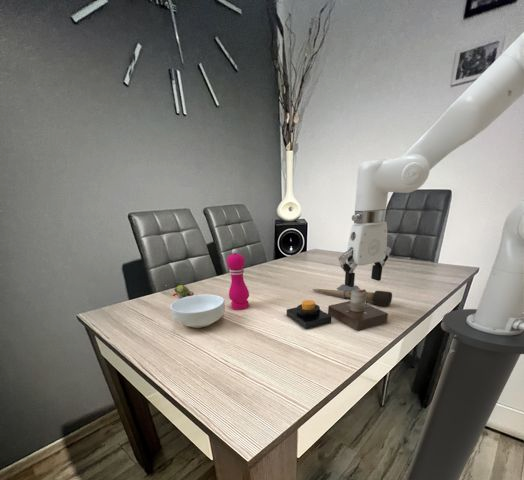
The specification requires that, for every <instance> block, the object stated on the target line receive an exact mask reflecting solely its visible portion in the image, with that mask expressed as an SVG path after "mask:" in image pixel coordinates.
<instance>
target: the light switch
mask: <svg viewBox="0 0 524 480" xmlns="http://www.w3.org/2000/svg"><path fill="white" fill-rule="evenodd" d="M301 304H302V309H303V310H314V309H315V304H316V301H315V300H312V299H305V300H302V302H301Z"/></svg>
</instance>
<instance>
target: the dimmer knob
mask: <svg viewBox="0 0 524 480" xmlns="http://www.w3.org/2000/svg"><path fill="white" fill-rule="evenodd" d="M367 292H368V291H367V290H366V289H364V288H363V289H361V290H353V291H352V292H351V298H350V300H349V301H350V310H351V311H354V312H362V311H364V310H365V304H367V301H366V297H367Z"/></svg>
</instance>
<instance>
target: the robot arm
mask: <svg viewBox="0 0 524 480" xmlns="http://www.w3.org/2000/svg"><path fill="white" fill-rule="evenodd" d="M523 95H524V31H523V32H522V33H521V34H520V35H519V36H518V37H517V38H516V39H515V40H514V41H513V42H512V43H511V44H510V45H509V46H508V47H506V49H505V50H504V51H503V52H502V53H501V54H500V55H499V56H498V57H497V58H496V59H495V60H494V61H493V62H492V63H491V64H490V65H489V66H488V67H487V68H486V69H485V70H484V71H483V72H482V73H481V74H480V75H479V76H478V77H477V78H476V79H475V80H474V81H473V82H472V83H471V84H470V85H469V86H468V87H467V88H466V89H465V90H464V91H463V92H462V93H461V94H460V95H459V96H458V98H456V99H455V100H454V102H452V103H451V105H449V107H447V109H446V110H445V111H444V112H443V113H442V115H441V116H439V118H437V120H436V121H435V122H434V123H433V124H432V126H430V128H428V130H427V131H425V132H424V133H423V134H422V136H421V137H419V139H418V140H416V141H415V142H414V143H413V144H412V145H411V146H410V147H409V149H407V150H406V151H405V152H404V153H403V154H402V155H401V156H399V157H396V158H391V159H386V158H383V159H382V158H381V159H371V160H367V161H364V162H362V163H361V164H360V165H359V166H358V169H357V175H356V176H357V178H356V192H355V203H354V214H352V216H351V221H353V224H351V228H350V232H349V237H348V244H347V250H346V251H345V252H344V253H342V254H341V255H340V256H339V257H338V262H339V265H340V268H341V269H342V270H343V272H344V273H345V275H344V284H345V285H346V286H349V287H353V286H354V285H355V277H356V273H355V272H354V271H355V270H356V268H357V267H358V266H366V265H370V264H373V265H372V268H371V277H370V279H371V280H374V281H378V282H380V281H381V280H382V274H383V267H385V265H386V262H387V261H388V259H389V256H390V254H391V252H392V248H391V247H390V246H388V223H387V221H385V220H386V212H387V205H388V198H389V197H388V196H389V193H400V194H409V193H412V192H415V191H417V190H418V189H420V188H421V187H422V186H423V185H424V184H425V183H426V181H427V180H428V178H429V175H430V171H431V170H432V169H433V168H434V167H435V166H437V164H439V163H440V162H441V161H443V159H445V158H446V157H447V156H448V155H450V154H451V153H453V151H456V149H458V148H460V147H461V146H464V145H465V144H466V143H468V142H469V141H471V140H473V139H474V138H475V137H477V136H478V135H479V134H481V133H482V132H484V130H486V129H487V128H488V127H489V126H490V125H491V124H492V123H493V122H494V121H496V120H497V119H498V118H499V117H500V116H501V115H502V114H503V113H504V112H505V111H507V109H509V108H510V107H511V106H512V105H513V104H514V103H515V102H516V101H517V100H519V99H520V98H521V97H522V96H523ZM476 309H477V311H476V313H475V314H472V315H469V316H468V317H467V319H466V322H467V324H468V325H469V326H471V327H473V328H475V329H477V330H480V331H483V332H486V333H491V334H496V335H518V334H521V333H522V332H523V331H524V200H522V201H520V202H519V203H518V204H516V205H515V206H514V207H513V208H512V209H511V210H510V211H509V213H508V215H507V216H506V219H505V221H504V224H503V227H502V232H501V238H500V242H499V247H498V250H497V254H496V256H495V259H494V262H493V264H492V267H491V270H490V273H489V275H488V278H487V281H486V283H485V286H484V289H483V291H482V295H481V298H480V300H479V303H478V305H477V308H476Z"/></svg>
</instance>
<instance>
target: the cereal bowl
mask: <svg viewBox="0 0 524 480" xmlns="http://www.w3.org/2000/svg"><path fill="white" fill-rule="evenodd" d="M169 308H170V313H171V316H172V317H173V319H174V321H176V322H177V323H179V324H180V325H183V326H185V327H190V328H194V329H201V328H206V327H208V326H211V325H212V324H214V323H216V322H217V321H219V320H220V319H221V318H222V317H223V315H224V313H225V309H226V303H225V299H224V298H223V297H222V296H220V295H216V294H212V293H211V294H207V293H206V294H205V293H203V294H194V295H193V296H188V297H184V298H181V299H180V298H178V299H176V300H174V301H172V302H171V303H170V305H169Z"/></svg>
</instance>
